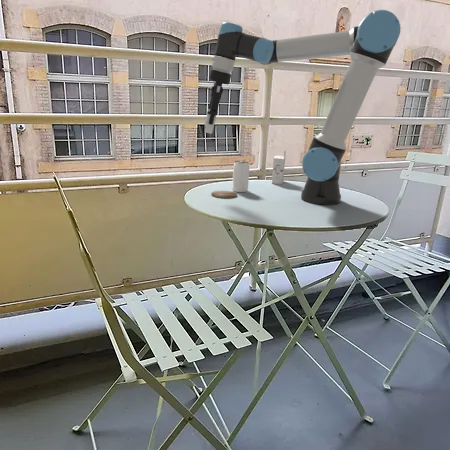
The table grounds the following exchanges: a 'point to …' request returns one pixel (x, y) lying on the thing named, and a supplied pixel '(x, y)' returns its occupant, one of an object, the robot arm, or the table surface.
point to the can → (240, 176)
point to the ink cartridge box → (278, 169)
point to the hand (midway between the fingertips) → (208, 129)
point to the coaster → (224, 194)
